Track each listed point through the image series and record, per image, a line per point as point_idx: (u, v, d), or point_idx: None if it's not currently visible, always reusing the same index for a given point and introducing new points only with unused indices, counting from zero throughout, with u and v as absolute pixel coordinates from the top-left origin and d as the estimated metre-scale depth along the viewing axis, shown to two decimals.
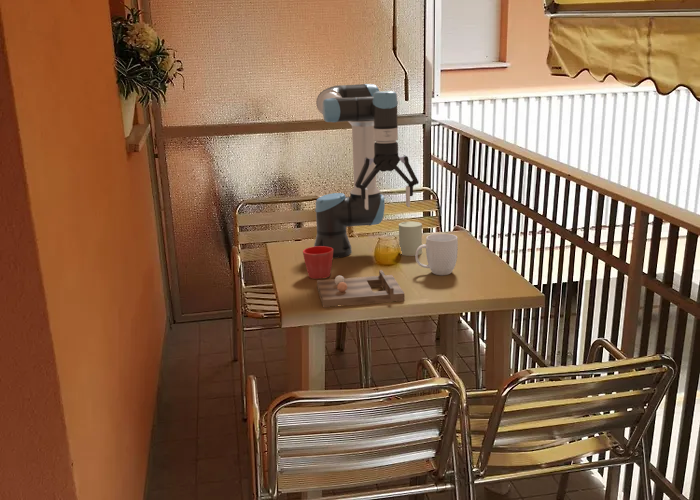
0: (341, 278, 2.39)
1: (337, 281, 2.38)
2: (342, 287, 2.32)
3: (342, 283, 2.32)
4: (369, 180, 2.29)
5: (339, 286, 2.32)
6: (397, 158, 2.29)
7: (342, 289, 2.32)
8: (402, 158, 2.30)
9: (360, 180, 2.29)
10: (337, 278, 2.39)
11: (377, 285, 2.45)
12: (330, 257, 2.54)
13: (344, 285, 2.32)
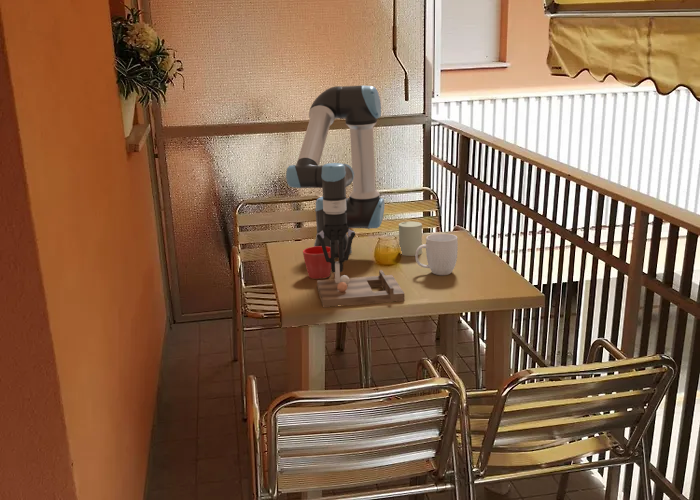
0: (348, 280, 2.39)
1: (343, 279, 2.38)
2: (342, 287, 2.32)
3: (342, 283, 2.32)
4: (333, 253, 2.36)
5: (339, 286, 2.32)
6: (346, 229, 2.34)
7: (342, 289, 2.32)
8: (350, 232, 2.35)
9: (326, 255, 2.36)
10: (345, 277, 2.39)
11: (377, 285, 2.45)
12: (330, 257, 2.54)
13: (344, 285, 2.32)
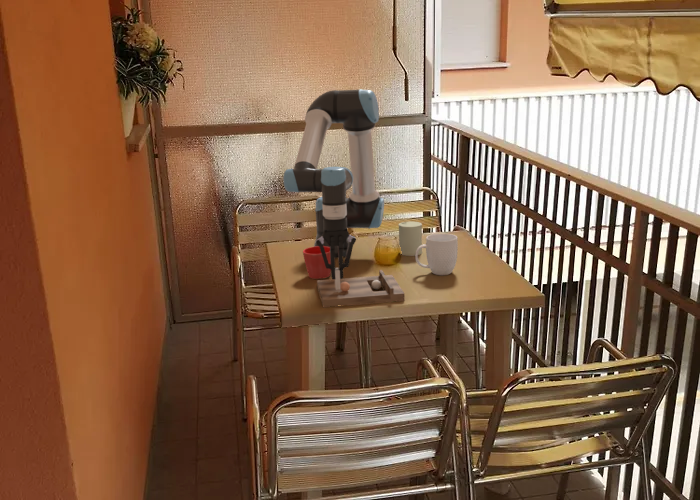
0: (380, 285, 2.41)
1: (375, 284, 2.40)
2: (345, 287, 2.32)
3: (347, 283, 2.32)
4: (333, 259, 2.29)
5: (343, 285, 2.32)
6: (347, 234, 2.28)
7: (344, 289, 2.32)
8: (350, 237, 2.29)
9: (325, 261, 2.29)
10: (377, 282, 2.41)
11: None
12: None
13: (348, 286, 2.32)
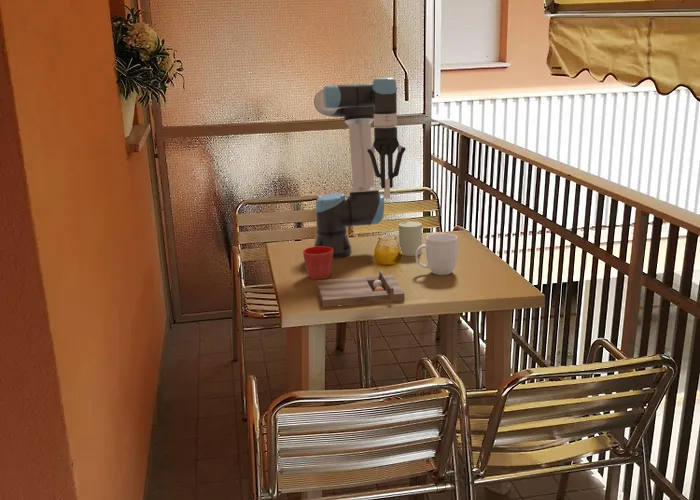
0: (381, 286, 2.41)
1: (377, 283, 2.40)
2: None
3: (382, 289, 2.34)
4: (383, 168, 2.38)
5: (378, 289, 2.34)
6: (397, 143, 2.37)
7: None
8: (400, 147, 2.38)
9: (376, 170, 2.38)
10: (380, 282, 2.41)
11: None
12: (330, 257, 2.54)
13: None
